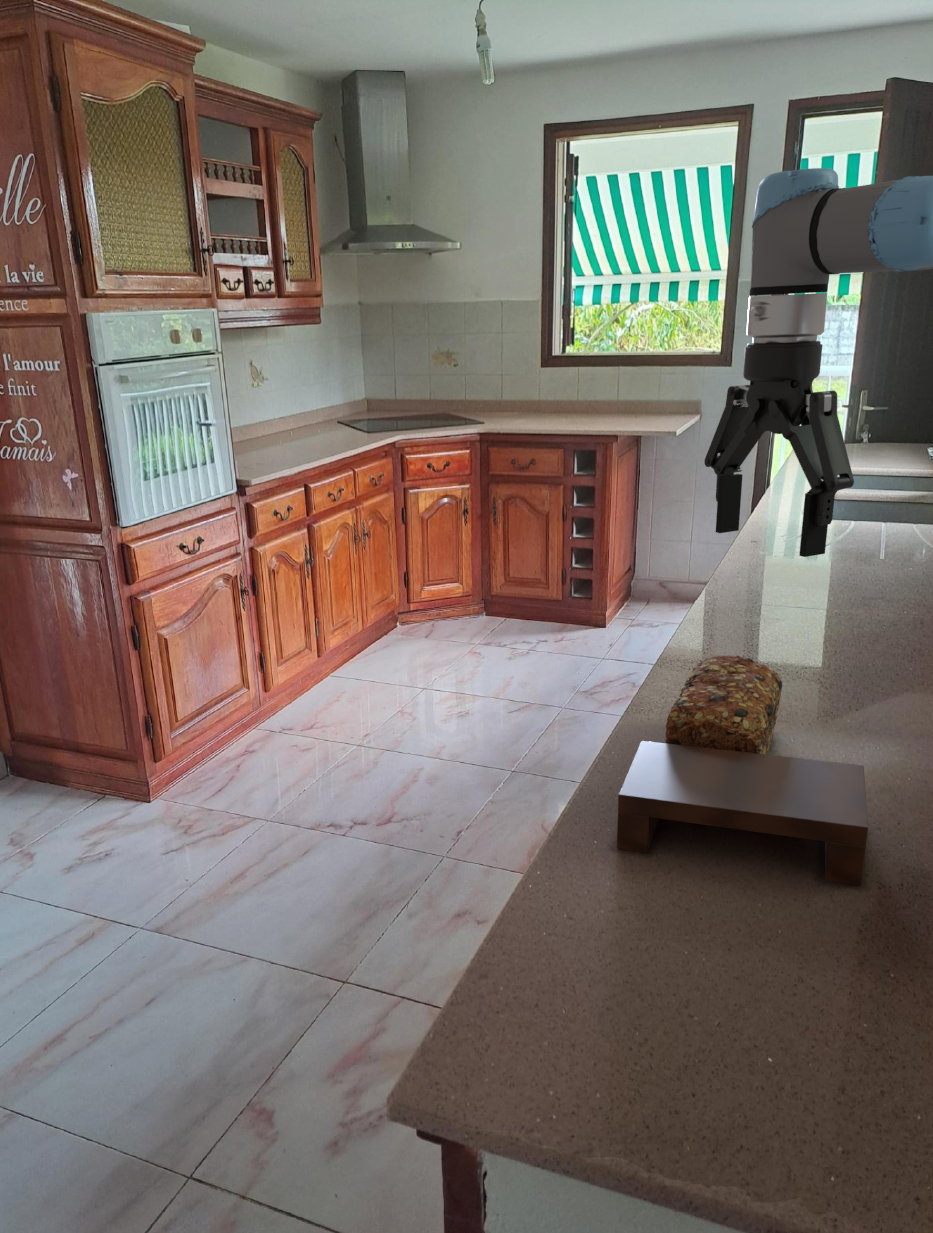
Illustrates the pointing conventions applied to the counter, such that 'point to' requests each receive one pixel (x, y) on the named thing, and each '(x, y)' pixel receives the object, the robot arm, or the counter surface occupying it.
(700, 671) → the bread
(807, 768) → the shelf
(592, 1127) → the counter surface
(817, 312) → the robot arm
